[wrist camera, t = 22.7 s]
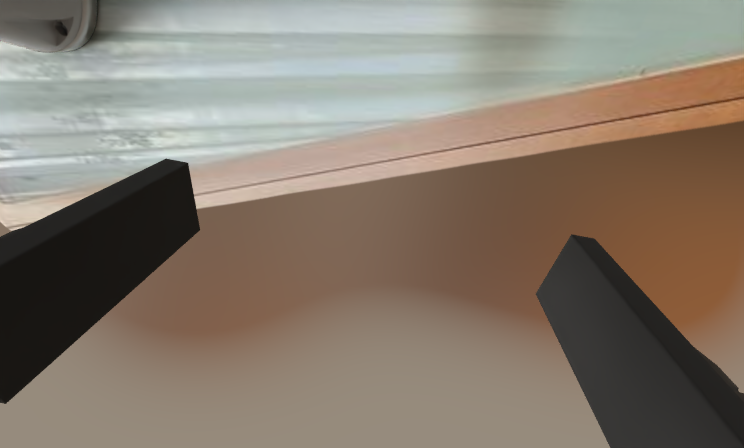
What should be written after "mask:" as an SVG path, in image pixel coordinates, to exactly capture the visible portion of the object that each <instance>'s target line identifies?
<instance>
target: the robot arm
mask: <svg viewBox="0 0 744 448" xmlns="http://www.w3.org/2000/svg"><path fill="white" fill-rule="evenodd" d="M96 21H97V0H0V41H1V42H5V43H8V44H12V45H16V46H19V47H23V48H27V49H30V50H34V51H38V52H68V51H73V50H76V49H78V48H80V47H82V46H83V45H84V44H85V43H86V42H87V41H88V40H89V39H90V37H91V35H92V34H93V31H94V29H95V25H96ZM199 230H200V227H199V221H198V216H197V210H196V205H195V199H194V194H193V188H192V183H191V177H190V172H189V166H188V163H186V162H180V161H175V160H170V159H165V160H163V161H161V162H158V163H156V164H154V165H152V166H150V167H148V168H146V169H144V170H142V171H140V172H138V173H136V174H134V175H132V176H130V177H127V178H125V179H123V180H121V181H119V182H117V183H115V184H113V185H111V186H109V187H107V188H105V189H103V190H101V191H98V192H96V193H94V194H92V195H90V196H88V197H86V198H84V199H82V200H80V201H78V202H76V203H74V204H72V205H69V206H67V207H65V208H63V209H61V210H59V211H57V212H55V213H53V214H51V215H49V216H47V217H45V218H43V219H40V220H38V221H36V222H34V223H32V224H30V225H28V226H26V227H24V228H21V229H17V230H14V231H12V232H9V233H7V234H5V235H3V236H1V237H0V403H4V404H6V403H7V402H8V401H9V400H11V399H12V398H13V397H14V396H15V395H16V394H17V393H18V392H19V391H21V390H22V389H23V388H24V387H25V386H26V385H27V384H28V383H30V382H31V381H32V380H33V379H34V378H35V377H36V376H37V375H38V374H40V373H41V372H42V371H43V370H44V369H45V368H46V367H47V366H48V365H50V364H51V363H52V362H53V361H54V360H55V359H56V358H57V357H59V356H60V355H61V354H62V353H63V352H64V351H65V350H66V349H67V348H69V347H70V346H71V345H72V344H73V343H74V342H75V341H76V340H78V338H80V337H81V336H82V335H83V334H84V333H85V332H87V331H88V330H89V329H90V328H91V327H92V326H93V325H94V324H95V323H97V322H98V321H99V320H100V319H101V318H102V317H103V316H104V315H106V313H108V312H109V311H110V310H111V309H112V308H113V307H114V306H116V305H117V304H118V303H119V302H120V301H121V300H122V299H123V298H125V297H126V296H127V295H128V294H129V293H130V292H131V291H132V290H133V289H134V288H135V287H137V286H138V285H139V284H140V283H141V282H142V281H144V280H145V279H146V278H147V277H148V276H149V275H150V274H151V273H152V272H154V271H155V270H156V269H157V268H158V267H159V266H160V265H161V264H162V263H164V262H165V261H166V260H167V259H168V258H169V257H170V256H171V255H173V254H174V253H175V252H176V251H177V250H178V249H179V248H180V247H181V246H183V245H184V244H185V243H186V242H187V241H188V240H189V239H190V238H192V237H193V236H194V235H195V234H196V233H197V232H198V231H199ZM536 295H537V297H538V299H539V302H540V304H541V306H542V308H543V310H544V312H545V314H546V316H547V318H548V320H549V322H550V324H551V326H552V328H553V330H554V332H555V335H556V337H557V339H558V341H559V343H560V344H561V347H562V349H563V351H564V353H565V355H566V357H567V359H568V361H569V363H570V365H571V367H572V370H573V372H574V374H575V376H576V378H577V380H578V382H579V384H580V386H581V388H582V390H583V392H584V394H585V396H586V398H587V400H588V402H589V405H590V407H591V409H592V410H593V413H594V415H595V417H596V419H597V421H598V423H599V425H600V427H601V429H602V431H603V433H604V435H605V437H606V440H607V442H608V444H609V446H610V448H744V394H743V393H740V392H739V391H738V387H737V386H736V385H735V384H734V383H733V382H732V381H731V380H730V379H729V378H728V376H727V375H726V374H725V373H724V372H723V371H722V370H721V369H720V368H719V367H718V366H717V365H716V364H715V363H713V362H712V361H711V360H710V359H708V358H707V357H706V356H704V355H703V354H702V353H701V352H699V351H698V350H697V349H695V348H694V347H693V346H692V345H691V344H690V343H689V341H688V340H687V339H686V338H685V337H684V336H683V335H682V334H681V333H680V332H679V331H678V330H677V328H676V327H675V326H674V325H673V324H672V323H671V322H670V321H669V320H668V319H667V318H666V316H665V315H664V314H663V313H662V312H661V311H660V310H659V309H658V308H657V306H656V305H655V304H654V303H653V302H652V301H651V300H650V299H649V298H648V297H647V296H646V294H644V292H643V291H642V290H641V289H640V288H639V287H638V286H637V285H636V284H635V283H634V282H633V280H632V279H631V278H630V277H629V276H628V275H627V274H626V273H625V272H624V270H623V269H622V268H621V267H620V266H619V265H618V264H617V263H616V262H615V261H614V259H613V258H612V257H611V256H610V255H609V254H608V253H607V252H606V251H605V250H604V249H603V248H602V246H601V245H600V244H599V243H598V242H597V241H596V240H595V239H593V238H588V237H582V236H577V235H571V236H570V238H569V240H568V241H567V243H566V244H565V246H564V248H563V249H562V251H561V253H560V254H559V256H558V258H557V259H556V261H555V263H554V264H553V266H552V268H551V269H550V271H549V273H548V275H547V276H546V278H545V279H544V281H543V283H542V284H541V286H540V288H539V289H538V291H537V293H536Z"/></svg>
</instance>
